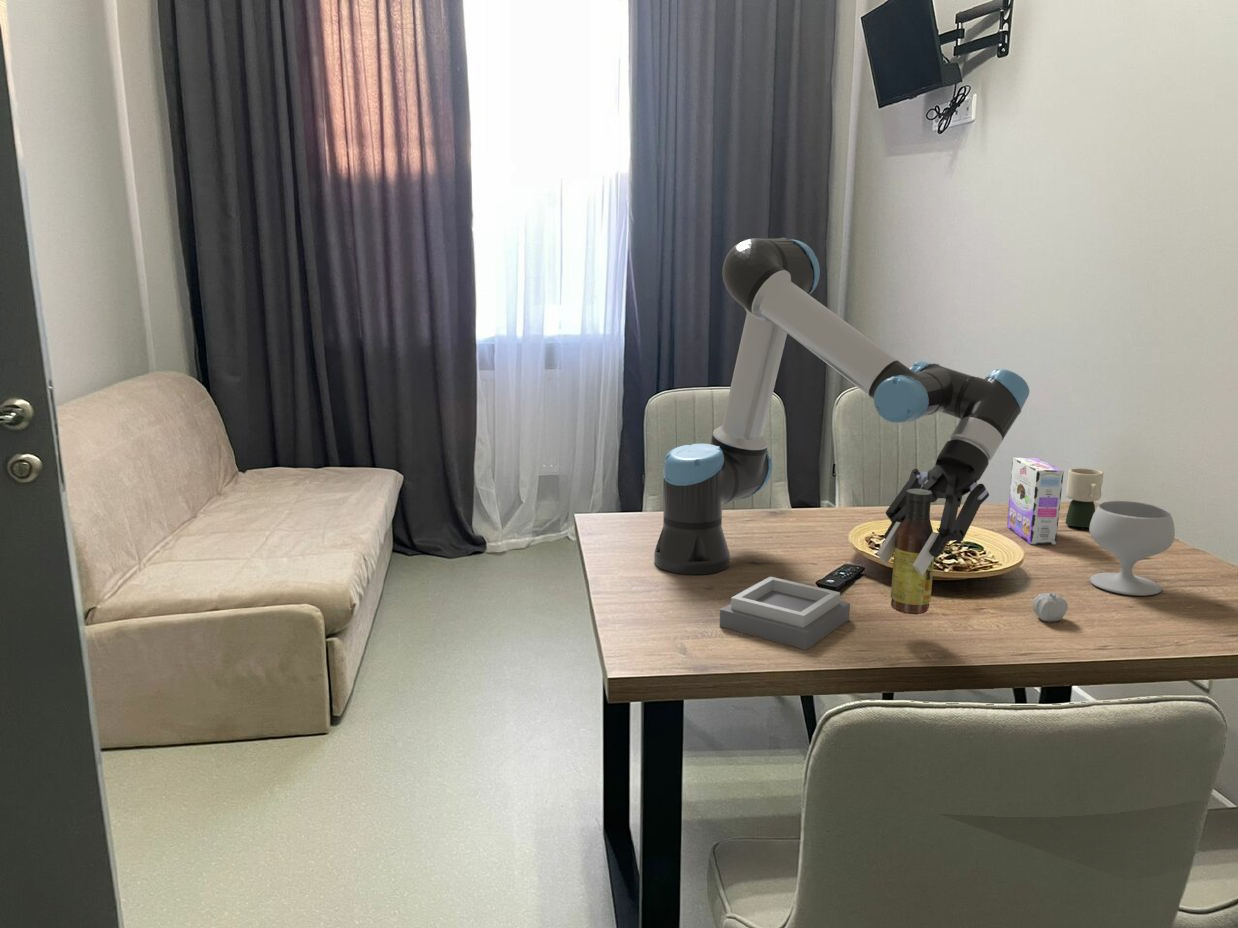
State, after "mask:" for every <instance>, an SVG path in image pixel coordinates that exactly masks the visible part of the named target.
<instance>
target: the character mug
mask: <svg viewBox="0 0 1238 928" xmlns="http://www.w3.org/2000/svg"><path fill="white" fill-rule="evenodd" d="M1103 483H1104V472H1103V471H1101V470H1098V469H1093V468H1087V467H1086V468H1085V467H1074V468H1069V469H1068V473H1067V483H1066V494H1065V495H1066V498H1068V499H1071V501H1070V502H1069V506H1068V510H1067V513H1066V518H1065V522H1064V524H1065V525H1067V526H1071V527H1080V528H1081V529H1082V528H1084V529H1085V528H1088V529H1089V528H1090V523H1091V520H1092V517H1093V514H1094V512H1095V510H1096V505H1095V502H1096V501H1100V499H1101V497H1102V485H1103Z"/></svg>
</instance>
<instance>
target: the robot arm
mask: <svg viewBox="0 0 1238 928" xmlns="http://www.w3.org/2000/svg"><path fill="white" fill-rule="evenodd" d="M721 271H722V272H721V273H722V275H721V276H722V279H723V280H722V281H723V283H724V287H725V290H727V292H728V294H729V295H730V296H731V297H732V298H733V299H734V300H735V301H736V302H737V303H738V304H739V305H740V306H742V307H743V308H744V310H745V311H746V315H745V321H744V323H743V324H744V325H743V329H742V334H741V338H740V343H739V346H738V347H739V348H738V352H737V356H736V361H735V365H734V371H733V374H732V380H731V382H730V383H731V384H730V388H729V392H728V396H727V397H728V398H727V402H726V406H725V411H724V414H723V415H724V416H723V419H722V424H721V425H720V426H719V427H717V428H716V429H714V430H713V431H712V436H711V440H710V443H691V444H684V445H681V446H677V447H674V448H673V449H670V450H669V451H668V453H667V454H665V457H664V464H663V470H662V477H663V523H662V524H663V525H662V528H661V532H660V534H659V538H658V540H657V543H656V546H655V548H654V554H653V555H654V557H653V558H654V559H653V560H654V561H653V562H654V564H655V566H656V567H658V568H660V569H661V570H664V571H667V572H669V573H673V574H674V573H675V574H680V575H681V574H682V575H706V574H714V573H718V572H721V571H725V569H727V568H728V567H729V566H730V563H731V562H730V558H731V557H730V556H731V553H730V550H729V548H728V543H727V540H726V536H725V533H724V530H723V526H722V525H723V524H722V523H723V521H722V520H723V505H727V504H729V503H733V502H735V501H738V500H743V499H748V498H749V497H751V496H753V495H756V494H757V493H759V492H760V491H762V490H763V489H764V488H765V487H766V485H768V482H769V481H770V479H771V476H772V473H773V471H772V470H773V460H772V458H771V457H770V452H769V450H768V448H769V441H768V440H767V438H766V437H765V435H764V433H765V428H766V424H767V420H768V415H769V410H770V407H771V403H772V399H773V395H774V389H775V387H776V382H777V381H776V380H777V379H778V373H779V369H780V365H781V360H782V357H783V353H784V349H785V343H786V339H787V335H789V336H790V337H792V338H793V339H794V340H796V342H798V343H799V344H801V345H802V346H803V347H804V348H806V349H807V350H809V352H811V353H812V354H813V355H815V356H816V357H818V359H820V360H822V361H823V362H824V363H826V364H827V365H828V366H829V367H831V368H832V369H833V370H835V371H836V372H837V373H839V374H840V375H841V376H842V377H843V378H845V379H847V381H849V382H851V383H852V384H853V385H854V386H855V387H857V388H858V389H859V390H861V391H862V392H863V393H864V394H866V395H867V396H869V398H871V399H872V400H873V404H874V407H875V409H876V412H877V414H878V415H879V416H880V417H881V418H882V419H884V420H885V421H887V422H890V423H893V424H894V423H896V424H897V423H898V424H899V423H906V422H909V423H910V422H913V421H916V420H918V419H920V418H923V417H927V416H929V415H933V414H936V413H942V414H945V415H949V416H952V417H955V418H957V419H960V420H958V421H959V422H958V423H957V425H956V427H955V428H954V429H953V431H952V433H950V435H949V437H948V441H946V442H945V444H944V446H943V447H942V449H941V451H940V452H939V454H938V455H937V457H936V461H935V464H934V465H933V466H932V467H931V468H930V469H928V471H920V470H919V469H918V468H913V469H912V470H911V472H910V475H909V479H908V480H907V482H906V483H905V485H904V486H903V487H902V489H901V490H900V492H899V493H898V494H897V496H896V497H895V498H894V500H892V503H891V504H890V505H889V507H888V508H887V509H886V511H885V515H886V517H887V518H888V519H889V521H890V525H889V526H888V528H887V530H886V532H885V533H884V535H883V538H884V541H883V543H882V544H881V546H880V547H879V549H878V551H877V552H876V555H877V556H878V558H879V559H880V560H881V562H882V563H883V564H886V565H887V564H888V563H889V562H890V560H891V558H892V556H894V549H895V545H896V532H897V529H898V527H899V526H900V524H901V523H902V522H903V521H904V519H905V518H906V517H905V512H906V498H905V497H906V490H908V489H924V490H928V491H931V492H932V501H931V503H935V502H936V501H937V500H938V499H945V502H944V507H943V509H942V515H941V519H940V523H939V528H936V531H937V532H935V531H933V532H932V534H931V535H930V537H929V539H928V540H927V542H926V544H925V545H924V547H923V549H922V550H921V552H920V554H919V555H918V557H917V558H916V560H915V562H914V563H913V567H914V568H915V569H916V571H917V572H918V574H920V575H924V573H925V571H926V570H927V568H928V566H929V565H930V563H931V561H932V560H933V558H934V559H935V558H939V557H940V556H941V554H942V553H943V551H944V549H945V548H946V546H947V544H948V543H950V542H951V541H956V542H957V543H962V541H963V540H964V539H965V537H966V535H967V533H968V531H969V528H970V527H971V525H972V523H973V520H974V519H975V517H976V515H977V513H978V511H979V509H980V506H981V505H982V504H983V503H984V502H985V501H986V500H987V499H988V498H989V496H990V494H989V491H988V489H987V488H986V486H985V485H984V483H979V484H978V481H979V480H981V478H982V476H983V474H984V473H985V471H986V469H987V468H988V466H989V462H990V461H992V459H993V458H994V456H995V454H996V453H997V450H998V449H999V447H1000V445H1001V444H1002V443H1003V441H1004V438H1006V435H1007V434H1008V432H1009V431H1010V429H1011V428H1012V426H1013V425H1014V423H1015V421H1016V420H1017V419H1018V417H1019V416H1020V414H1021V413H1022V409H1023V408H1024V405H1025V403H1026V402H1027V399H1028V398H1029V395H1030V387H1029V385H1028V382H1026V380H1025V379H1024V378H1023V377H1022V376H1021V375H1019V374H1018V373H1016V372H1015V371H1011V370H1009V369H1003V368H1002V369H994V370H991V371H990V372H989V373H988V374H987V375H985V377H984V378H982V377H979V376H977V377H976V376H973V375H971V374H967V373H964V372H961V371H957V370H954V369H950V368H948V367H945V366H941V365H940V364H938V363H931V362H926V361H923V360H920V361H919V360H918V361H916V362H914V363H913V364H912V366H910V367H907V366H906V365H905V364H903V363H902V362H901V361H899V360H898V359H897V358H896V357H894V356H893V355H892V354H891V353H889V352H888V351H886V350H885V349H884V348H882V347H881V346H880V345H878V344H876V342H874V341H873V340H871V339H870V338H868V337H867V336H866V335H864V333H862V332H860V331H859V330H858V329H856V328H855V327H854V326H853V325H851V324H850V323H848V322H846V320H844V319H843V318H841V317H840V316H838V315H837V314H836V313H835V312H834V311H832V310H831V309H829V308H827V306H825V305H824V304H822V303H821V302H819V301H818V300H817V299H815V298H814V297H813V296H812V295H811V294H812V293H813V292H814V291H815V289H816V288H817V286H818V284H819V280H820V273H821V270H820V264H819V260H818V257H817V256H816V254H815V252H814V250H813V249H812V248H811V247H810V246H809V245H807V244H806V243H805V242H802V241H801V240H797V239H792V238H786V237H780V238H748V239H744V240H743V241H741V242H738V243H736V245H734V246H732V248H731V249H730V250H729V252H728V253H727V255H726V257H725V259H724V261H723V266H722V270H721ZM968 493H969V494H968ZM967 494H968V496H967V497H966V498H965V501H964V503H963V505H962V500H963V497H964V496H965V495H967ZM961 505H962V507H961ZM960 507H961V509H960V510H959V508H960ZM958 511H959V512H958Z"/></svg>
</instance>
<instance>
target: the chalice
mask: <svg viewBox="0 0 1238 928" xmlns="http://www.w3.org/2000/svg"><path fill="white" fill-rule="evenodd" d="M1088 529H1089V533H1090V536H1091V539H1092V540H1093V541H1094V542H1095V543H1096V544H1097V545H1098V546H1100V547H1101V548H1102V549H1105V550H1106V551H1107V552H1109V553H1111V554H1112V555H1113V556H1114V557H1116V558H1117V559H1118V561H1119V563H1120V567H1121V568H1120V572H1101V573H1095V574H1093V575H1091V576H1090V577H1089V578H1088V581H1089V582H1090V583H1091V584H1092V585H1093V586H1095V587H1096V588H1098V589H1099V588H1100V589H1101V590H1102V589H1103V590H1104V591H1108V592H1111V593H1116V594H1121V595H1127V596H1140V597H1141V596H1153V595H1157V594H1160V593H1161V592H1162V590H1163V589H1162V587H1161V585H1159V584H1158V583H1157V582H1156V581H1154V580H1151V579H1149V578H1146V577H1143V576H1139V575H1134V574H1133V569H1134V566H1135V564H1137V563H1138V562H1139V561H1141V560H1144V559H1146V558H1150V557H1152V556H1156V555H1159V554H1161V553H1164V552H1166V551H1167V550H1168V549H1170V548H1171V547H1172V545H1173V544H1174V541H1175V536H1176V535H1175V533H1176V532H1175V531H1176V528H1175V524H1174V519H1173V516H1172V514H1171V513H1170V511H1169V510H1167V509H1166V508H1163V507H1161V506H1157V505H1153V504H1149V503H1144V502H1136V501H1127V500H1126V501H1125V500H1121V501H1120V500H1114V501H1113V500H1111V501H1104V502H1101V503H1100V504H1098V506H1097V508H1095V512H1094V514H1093V517H1092V520H1091V523H1090V528H1089V527H1088Z"/></svg>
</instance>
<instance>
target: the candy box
mask: <svg viewBox="0 0 1238 928" xmlns="http://www.w3.org/2000/svg"><path fill="white" fill-rule="evenodd" d="M1011 461H1012V462H1011V471H1010V483H1009V484H1010V485H1009V496H1008V497H1009V499H1008V508H1007V509H1008V512H1007V524H1006V528H1007V527H1008V528H1007V529H1009V528H1010V529H1011V530H1010V529H1009V530H1010V531H1012V532H1013V531H1014V532H1015V533H1014V532H1013V533H1014V534H1016V533H1017V534H1018V535H1019V537H1020V538H1021V539H1022V540H1024V541H1026V542H1027V543H1028V544H1030V545H1053V546H1055V545H1057V537H1058V529H1059V528H1058V527H1059V519H1060V517H1059V516H1060V510H1061V509H1060V508H1061V499H1062V491H1063V483H1064V482H1063V481H1064V480H1063V479H1064V472H1065V471H1064V470H1063V469H1060V468H1058V467H1057V466H1055V465H1052V464H1050V463H1048V462H1046V461H1044V460H1042V459H1040V458H1038V457H1012V460H1011ZM1017 534H1016V535H1017ZM1018 535H1017V536H1018Z"/></svg>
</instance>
